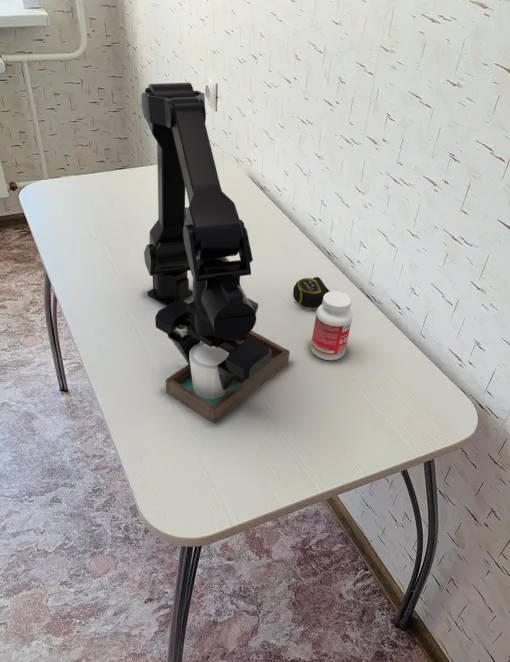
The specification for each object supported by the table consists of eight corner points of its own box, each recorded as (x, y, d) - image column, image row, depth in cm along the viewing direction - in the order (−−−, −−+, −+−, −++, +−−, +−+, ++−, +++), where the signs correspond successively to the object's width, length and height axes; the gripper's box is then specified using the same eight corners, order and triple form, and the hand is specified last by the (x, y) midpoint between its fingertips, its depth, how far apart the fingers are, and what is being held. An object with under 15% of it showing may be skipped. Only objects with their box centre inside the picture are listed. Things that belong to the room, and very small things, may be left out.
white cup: (216, 408, 96) (217, 374, 91) (180, 390, 98) (179, 356, 94) (240, 384, 101) (242, 350, 96) (205, 367, 103) (206, 334, 98)
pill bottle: (341, 365, 107) (352, 312, 100) (306, 356, 108) (315, 304, 101) (347, 344, 112) (358, 293, 104) (314, 336, 113) (323, 285, 105)
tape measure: (332, 309, 120) (335, 293, 117) (299, 314, 118) (302, 297, 115) (319, 290, 124) (321, 274, 122) (287, 294, 122) (289, 278, 120)
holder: (165, 392, 99) (165, 379, 97) (243, 338, 111) (244, 326, 109) (213, 423, 95) (213, 410, 93) (288, 363, 106) (289, 351, 105)
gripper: (298, 300, 89) (287, 381, 99) (202, 252, 97) (201, 331, 107) (249, 334, 82) (243, 417, 92) (150, 280, 90) (155, 362, 100)
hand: (210, 379), depth 98 cm, fingers closed on white cup, 6 cm apart
